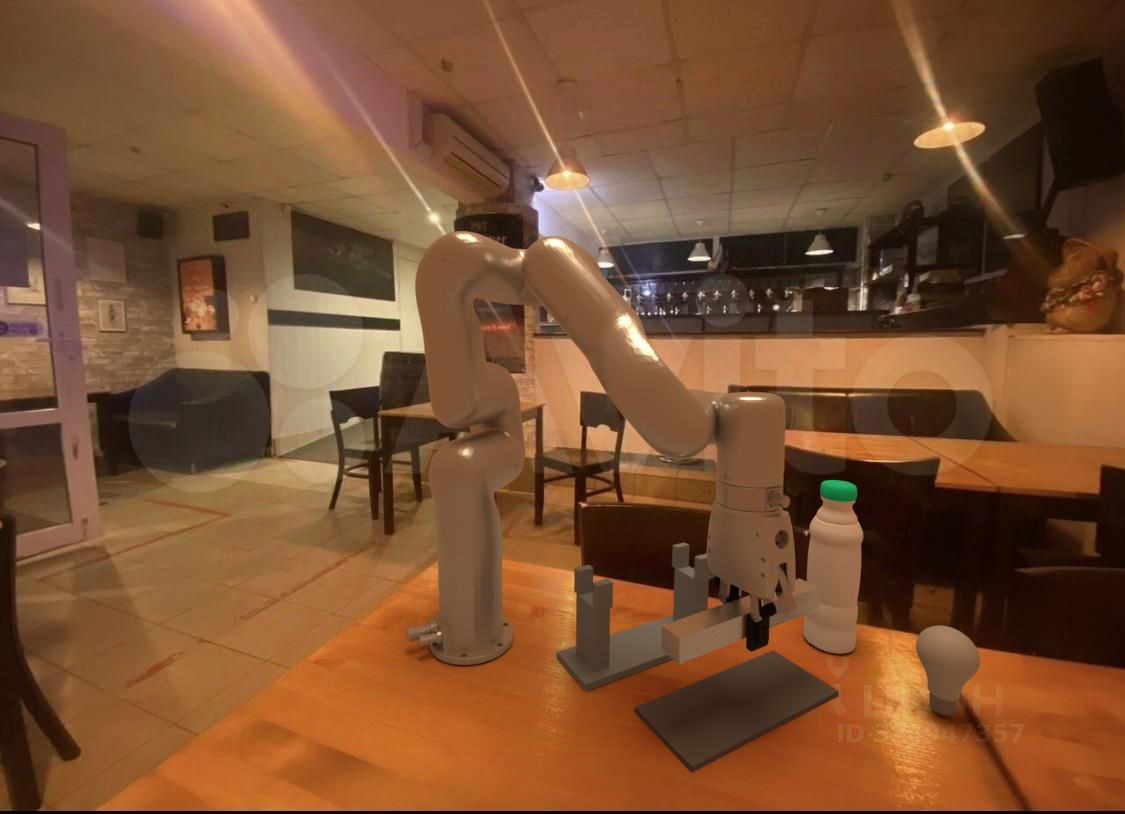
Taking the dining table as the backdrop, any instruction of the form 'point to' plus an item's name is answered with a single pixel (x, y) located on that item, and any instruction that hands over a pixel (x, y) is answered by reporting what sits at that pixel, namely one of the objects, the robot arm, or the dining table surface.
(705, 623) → the rail
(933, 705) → the lightbulb
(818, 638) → the water bottle
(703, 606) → the rack
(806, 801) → the dining table surface
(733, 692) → the mat
